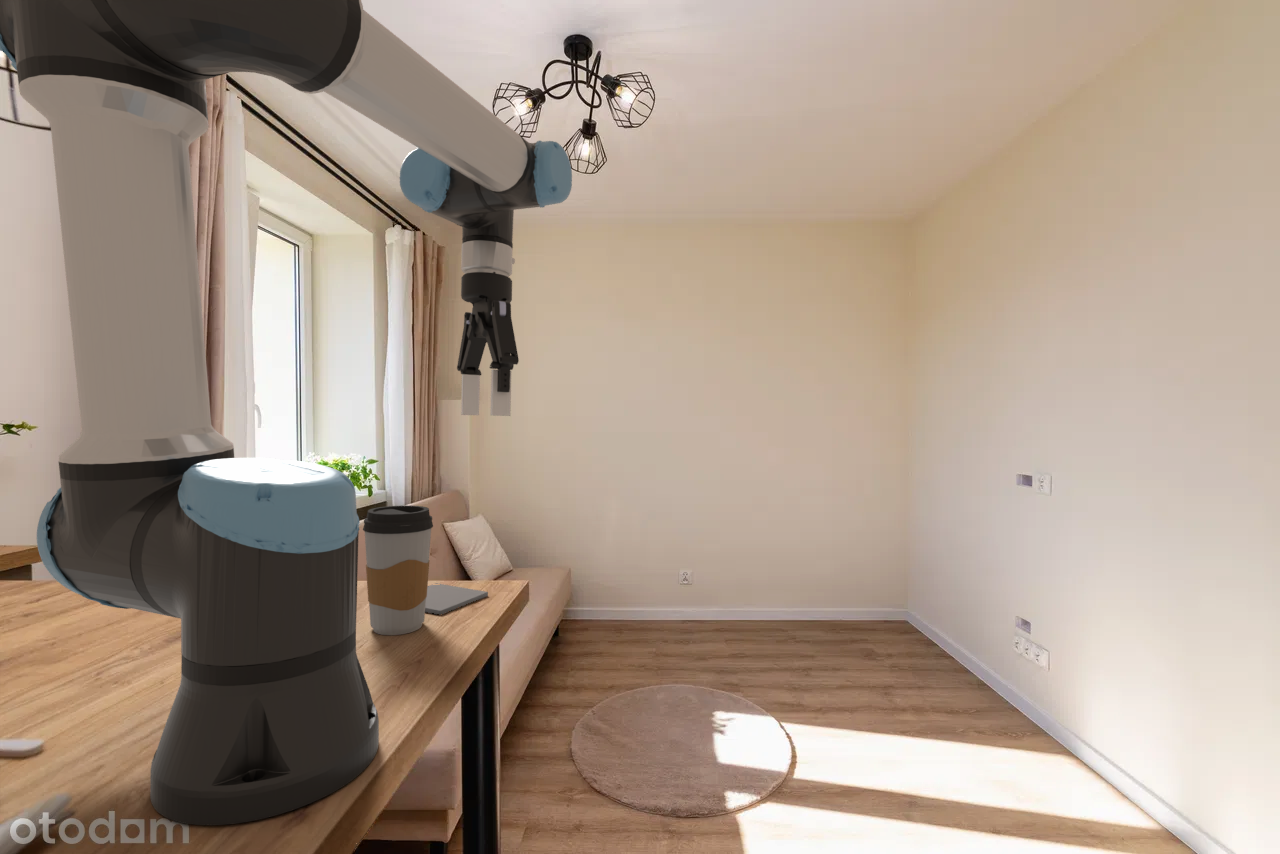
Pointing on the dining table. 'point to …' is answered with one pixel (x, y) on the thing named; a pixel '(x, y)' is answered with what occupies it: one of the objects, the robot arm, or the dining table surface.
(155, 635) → the dining table surface
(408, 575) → the coffee cup
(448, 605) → the coaster
